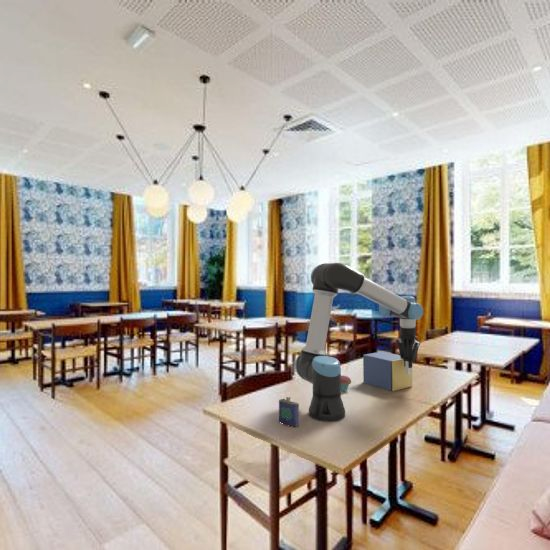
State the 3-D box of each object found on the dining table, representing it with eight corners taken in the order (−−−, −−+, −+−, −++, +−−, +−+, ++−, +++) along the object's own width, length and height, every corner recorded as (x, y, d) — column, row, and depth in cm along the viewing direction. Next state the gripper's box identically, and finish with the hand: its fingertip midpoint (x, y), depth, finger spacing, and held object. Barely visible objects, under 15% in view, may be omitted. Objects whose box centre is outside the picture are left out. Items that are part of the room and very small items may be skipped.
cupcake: (331, 390, 190) (331, 367, 190) (337, 386, 198) (337, 363, 198) (348, 393, 186) (348, 368, 186) (353, 388, 194) (353, 365, 194)
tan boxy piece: (393, 391, 188) (393, 361, 188) (367, 383, 203) (366, 355, 203) (412, 386, 196) (412, 357, 197) (385, 378, 211) (385, 351, 211)
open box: (390, 390, 190) (390, 360, 190) (363, 382, 205) (363, 354, 205) (409, 385, 198) (409, 357, 198) (382, 378, 213) (381, 351, 213)
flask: (300, 426, 146) (299, 398, 146) (295, 428, 143) (295, 400, 144) (281, 420, 152) (280, 394, 152) (276, 422, 149) (276, 395, 149)
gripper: (423, 327, 186) (424, 375, 186) (402, 325, 197) (402, 370, 197) (414, 329, 182) (414, 377, 182) (392, 326, 193) (392, 372, 193)
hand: (408, 373), depth 190 cm, fingers closed
